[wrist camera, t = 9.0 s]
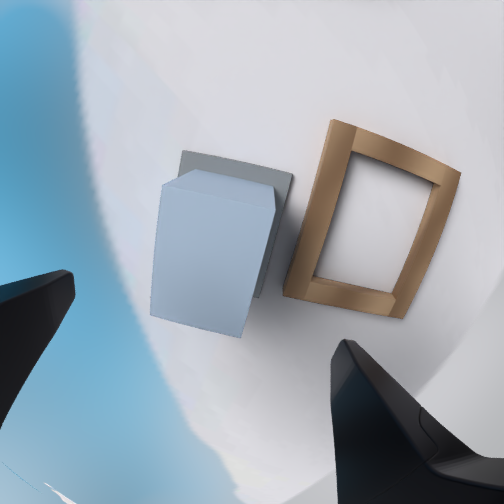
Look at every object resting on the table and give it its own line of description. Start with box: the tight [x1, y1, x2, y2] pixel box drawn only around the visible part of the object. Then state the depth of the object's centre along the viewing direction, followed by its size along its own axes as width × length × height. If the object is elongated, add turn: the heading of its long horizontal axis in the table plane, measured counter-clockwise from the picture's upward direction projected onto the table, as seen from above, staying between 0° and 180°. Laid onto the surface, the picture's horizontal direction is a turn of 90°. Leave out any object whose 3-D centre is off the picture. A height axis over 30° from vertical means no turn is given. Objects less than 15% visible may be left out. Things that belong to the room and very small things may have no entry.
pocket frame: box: [283, 119, 461, 319], centre depth 18 cm, size 10×12×1 cm
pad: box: [178, 150, 292, 298], centre depth 19 cm, size 7×9×1 cm
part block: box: [150, 169, 276, 338], centre depth 16 cm, size 5×7×6 cm
